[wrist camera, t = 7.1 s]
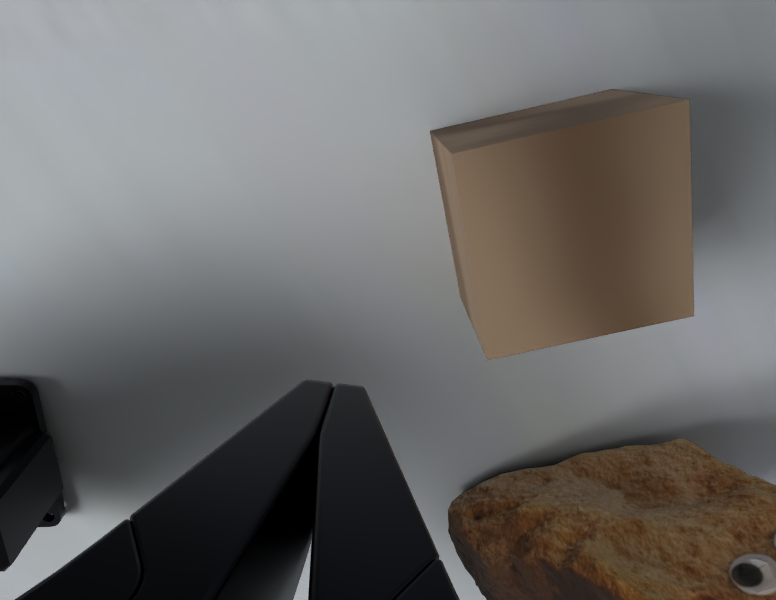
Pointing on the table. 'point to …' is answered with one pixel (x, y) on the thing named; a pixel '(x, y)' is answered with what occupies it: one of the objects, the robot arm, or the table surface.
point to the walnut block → (570, 218)
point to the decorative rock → (621, 529)
